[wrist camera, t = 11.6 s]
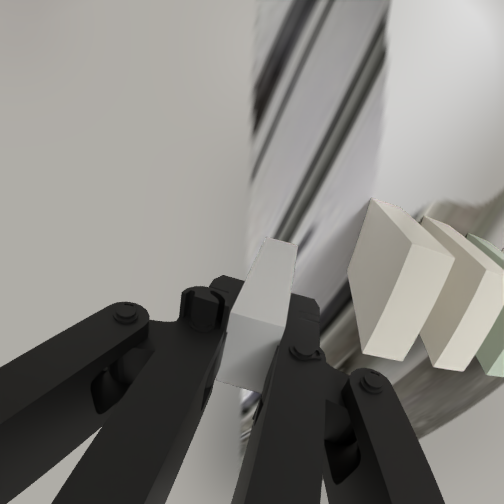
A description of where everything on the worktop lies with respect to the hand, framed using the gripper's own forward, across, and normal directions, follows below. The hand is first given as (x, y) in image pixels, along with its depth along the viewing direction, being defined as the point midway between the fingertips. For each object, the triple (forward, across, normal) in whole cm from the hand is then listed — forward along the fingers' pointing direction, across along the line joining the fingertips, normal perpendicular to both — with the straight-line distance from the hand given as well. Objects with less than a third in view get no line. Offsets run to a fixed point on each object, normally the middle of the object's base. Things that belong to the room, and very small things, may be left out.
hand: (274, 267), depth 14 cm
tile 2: (+9, +11, 0) cm, 14 cm away
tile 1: (+9, +7, 0) cm, 11 cm away
